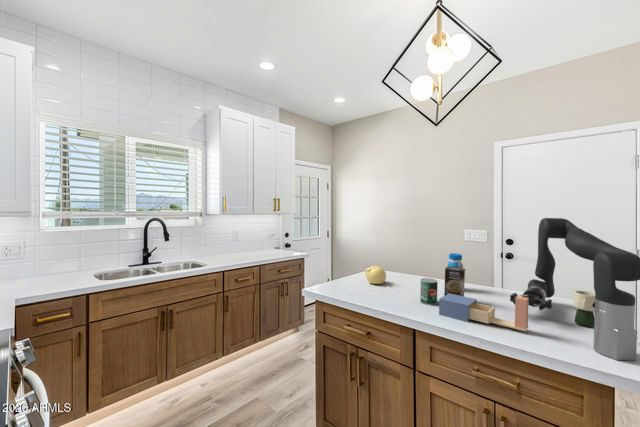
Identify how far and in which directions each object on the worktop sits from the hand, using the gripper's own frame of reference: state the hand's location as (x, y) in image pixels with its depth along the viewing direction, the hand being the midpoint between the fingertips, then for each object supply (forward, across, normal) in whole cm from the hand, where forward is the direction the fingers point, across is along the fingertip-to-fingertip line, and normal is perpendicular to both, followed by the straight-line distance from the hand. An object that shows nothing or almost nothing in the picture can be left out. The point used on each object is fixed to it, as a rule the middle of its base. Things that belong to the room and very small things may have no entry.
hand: (527, 304), depth 122 cm
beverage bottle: (-28, -39, +8) cm, 48 cm away
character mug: (-13, +17, +8) cm, 23 cm away
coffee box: (-8, -32, +8) cm, 34 cm away
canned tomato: (+4, -40, +8) cm, 41 cm away
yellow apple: (-7, -78, +8) cm, 79 cm away
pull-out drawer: (+11, -10, +6) cm, 16 cm away
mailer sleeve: (+11, -24, +7) cm, 27 cm away
